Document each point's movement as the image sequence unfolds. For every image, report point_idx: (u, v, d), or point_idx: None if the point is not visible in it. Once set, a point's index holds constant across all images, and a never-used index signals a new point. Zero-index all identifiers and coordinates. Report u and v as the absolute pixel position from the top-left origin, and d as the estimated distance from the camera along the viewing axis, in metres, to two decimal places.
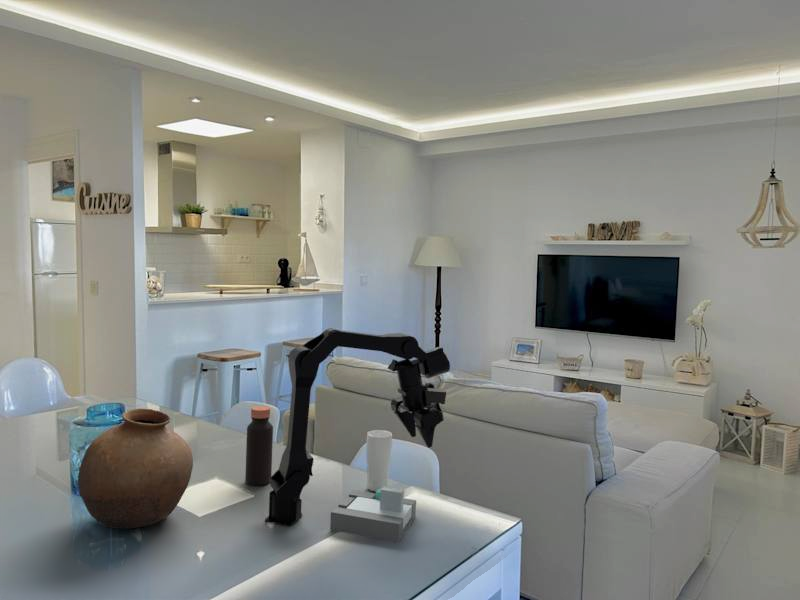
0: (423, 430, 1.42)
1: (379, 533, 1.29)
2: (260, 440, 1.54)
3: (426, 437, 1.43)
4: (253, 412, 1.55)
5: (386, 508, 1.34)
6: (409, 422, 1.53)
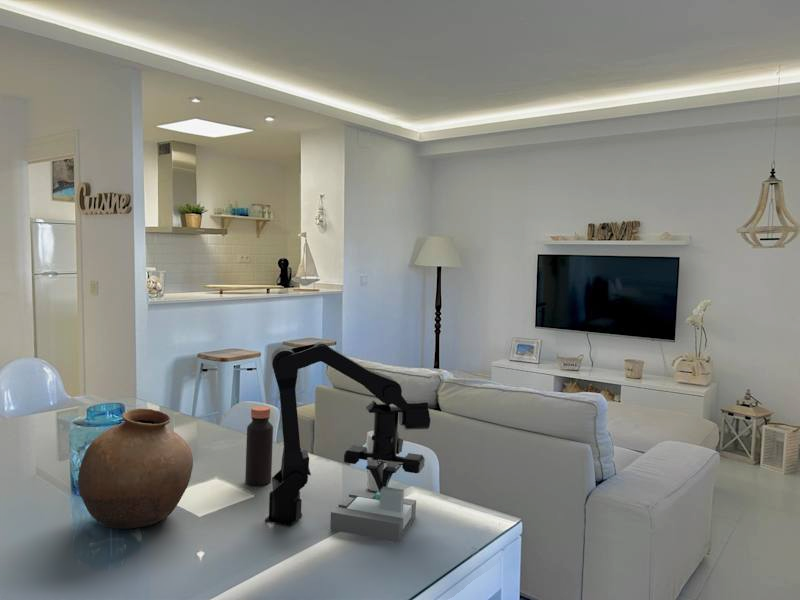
0: None
1: (379, 533, 1.29)
2: (260, 440, 1.54)
3: (387, 483, 1.40)
4: (253, 412, 1.55)
5: (386, 508, 1.34)
6: (381, 477, 1.41)
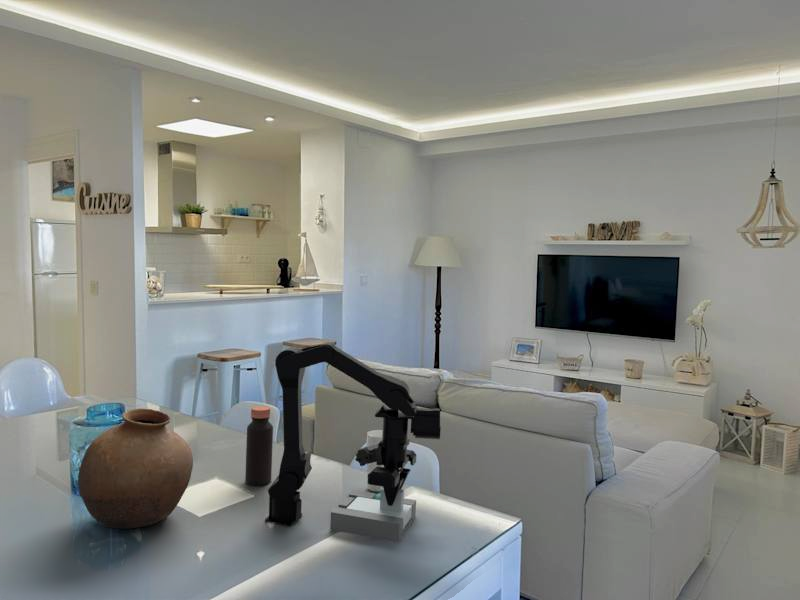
0: None
1: (379, 533, 1.29)
2: (260, 440, 1.54)
3: None
4: (253, 412, 1.55)
5: (386, 508, 1.34)
6: None
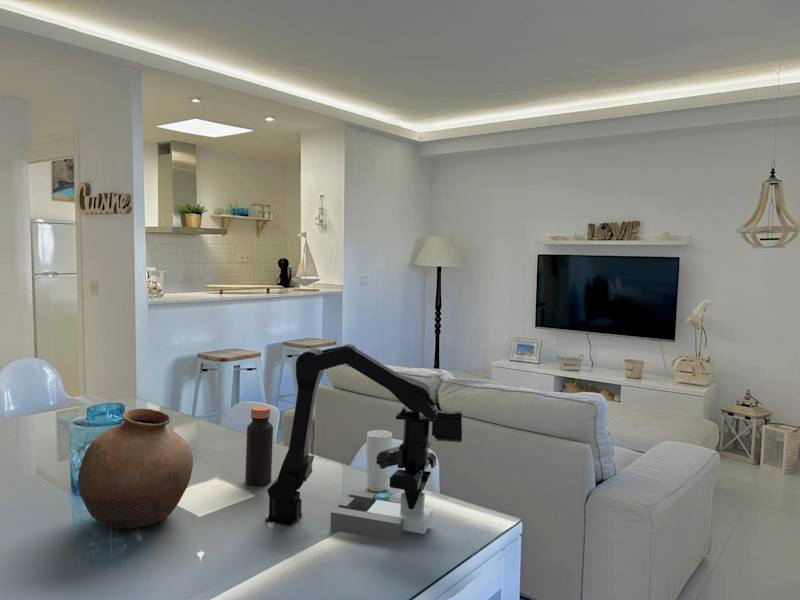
0: None
1: (379, 533, 1.29)
2: (260, 440, 1.54)
3: None
4: (253, 412, 1.55)
5: (407, 511, 1.33)
6: None
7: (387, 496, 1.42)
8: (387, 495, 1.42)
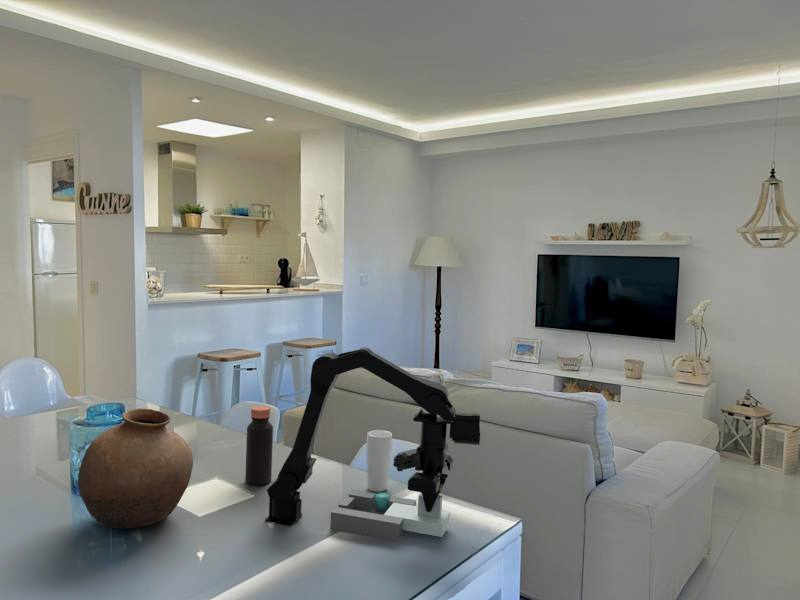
0: None
1: (379, 533, 1.29)
2: (260, 440, 1.54)
3: None
4: (253, 412, 1.55)
5: (424, 514, 1.32)
6: None
7: (387, 496, 1.42)
8: (387, 495, 1.42)
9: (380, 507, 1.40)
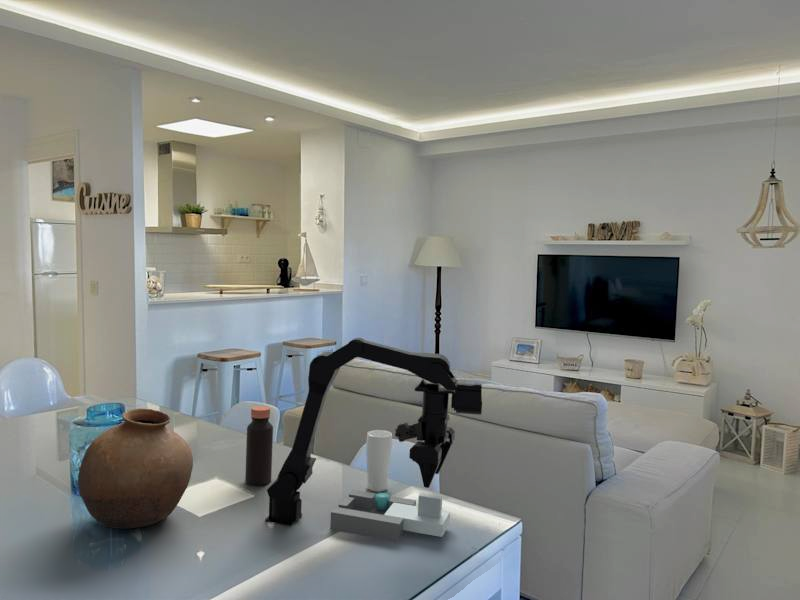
0: None
1: (379, 533, 1.29)
2: (260, 440, 1.54)
3: None
4: (253, 412, 1.55)
5: (424, 514, 1.32)
6: None
7: (387, 496, 1.42)
8: (387, 495, 1.42)
9: (380, 507, 1.40)
